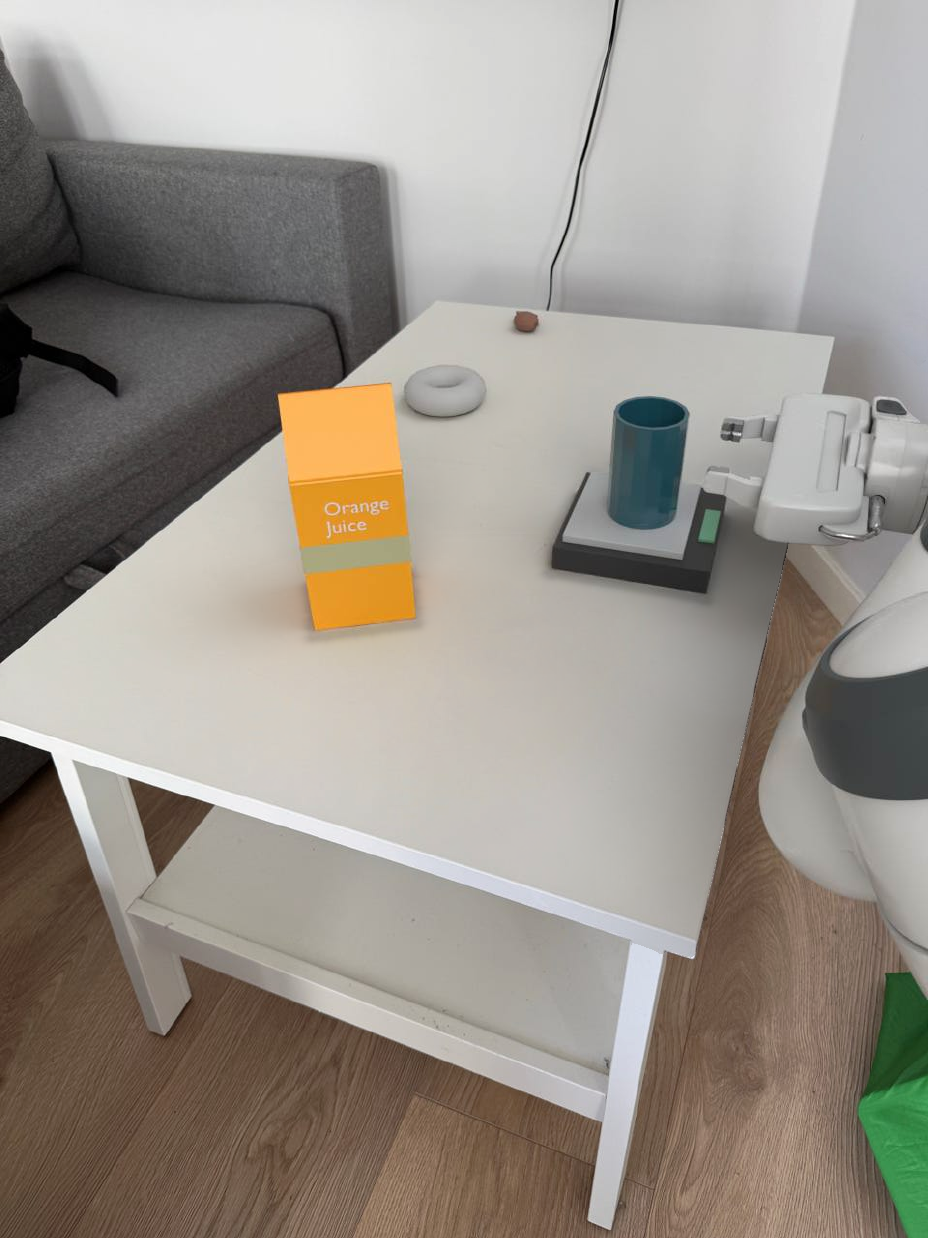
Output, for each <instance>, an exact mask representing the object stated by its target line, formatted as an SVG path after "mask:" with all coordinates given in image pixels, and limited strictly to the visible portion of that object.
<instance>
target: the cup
mask: <svg viewBox="0 0 928 1238" xmlns="http://www.w3.org/2000/svg"><path fill="white" fill-rule="evenodd" d="M690 418H691V413H690V411H689V409H688V407H687V406H686V405H684V404H682V403H681V402H679V401H677V400H674V399H671V398H668V397H664V396H655V395H646V396H645V395H644V396H634V397H631V398H630V397H629V398H626V399H624V400H622V401H621V402H619V403H618V404H616V405H615V407H614V410H613V412H612V425H611V426H612V427H611V438H610V439H611V441H610V453H609V454H610V455H609V468H608V473H609V480H608V493H607V513H608V515H609V516H610V518H611V519H612V520H613V521H615V522H616V523H618V524H620V525H622V526H625V527H628V528H633V529H640V530H650V529H657V528H661V527H664V526H666V525H668V524H670V523H671V522H672V521H673V520H674V519H675V517H676V514H677V508H678V503H679V495H680V487H681V483H682V479H683V473H684V472H683V471H684V463H685V456H686V447H687V439H688V434H689V433H688V432H689V424H690Z"/></svg>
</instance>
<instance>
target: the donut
mask: <svg viewBox="0 0 928 1238" xmlns="http://www.w3.org/2000/svg"><path fill="white" fill-rule="evenodd" d="M403 395H404V399H405V400H404V401H406V403H407V404H408V405H409V406H410V407H411V409H413V410H414V411H415V412H418V413H419V414H421V415H426V416H430V417H441V418H444V417H445V418H446V417H455V416H460V415H464V414H466V413H470V412H471V411H474V410H475V409H476V408H478V407H479V406H481V404H482V403H483V401H484V399H485V398H486V397H485V396H486V395H487V386H486V382H485V379H484V378H483V377H482V376H481V375H480V374H479V373H478V372H477V371H476V370H474V369H471V368H469V367H465V366H461V365H455V364H440V365H434V366H428V367H425V368H423V369H420V370H417V371H416V372H414V373H413V374H411V376H409V378H408V379H407V381H406V382H405V384H404V388H403Z"/></svg>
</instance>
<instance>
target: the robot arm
mask: <svg viewBox="0 0 928 1238" xmlns="http://www.w3.org/2000/svg"><path fill="white" fill-rule="evenodd" d="M719 437H720V439H721V440H723V441H724V442H725V441H726V442H728V441H730V442H732V443H739V444H740V443H741V440H747V439H760V441H761V442H764V443H765V442H766V443H772V445H771V449H770V454H769V458H768V462H767V466H766V469H765V474H764V477H759V476H753V475H752V476H751V475H750V476H749V478H745V477H742V476H740V475H737V474H734V473H732V472H730V467H726V466H717V465H709V466H708V467H707V469H706V472H705V474H704V479H703V484H702V487H703V489H704V491H705V492H707V493H714V494H720V495H724V496H725V497H727V499H729V500H731V501H733V502H734V503H736V504H738V505H739V506H742V507H743V508H748V509H756V514H755V519H754V525H753V531H754V533H755V534H756V535H758V536H759V537H761V538H763V539H765V540H766V541H770V542H776V543H785V544H795V545H805V546H806V545H807V546H819V547H820V546H821V547H835V546H844V545H846V544H848V543H864V542H865V541H866V540H869V539H873V538H874V537H877V536H879V535H880V534H881V533H882V531H887V532H892V533H899V534H900V533H901V534H906V535H911V536H910V538H909V539H908V540H907V542H906V543H905V544H904V546H903V547H902V548H901V549H900V551H899V552H898V554H897V555H896V557H895V558H894V559H893V561H892V562H891V564H890V565H889V567H888V568H886V570H885V572H884V573H883V575H881V577H880V579H878V581H877V583H876V584H875V585H874V586H873V588H872V589H871V590H870V592H869V593H868V594H867V595H866V596H865V598H864V599H863V600H862V601H861V603H860V604H859V605H858V606H857V607H856V609H855V610H854V611H853V612H852V613H851V614H850V616H849V617H848V619H847V620H846V621H845V623H844V624H843V625H842V627H840V629H839V630H838V632H837V633H836V634H835V636H834V637H833V638H832V639H831V640H830V642H829V643H828V644H827V645H826V647H825V648H824V649H823V650H822V652H821V653H820V654H819V656H818V657H817V659H815V661H814V662H813V664H812V665H811V666H810V668H809V669H808V671H807V672H806V674H805V675H804V677H803V678H802V679H801V681H800V683H799V684H798V686H797V688H796V689H795V691H794V693H793V694H792V697H791V698H790V700H789V702H788V703H787V705H786V707H785V709H784V711H783V714H782V715H781V717H780V720H779V722H778V723H777V726H776V729H775V731H774V734H773V737H772V738H771V742H770V744H769V747H768V749H767V753H766V756H765V759H764V761H763V765H762V770H761V772H760V776H759V777H760V778H759V783H758V805H759V811H760V817H761V819H762V821H763V825H764V827H765V830H766V832H767V834H768V836H769V838H770V840H771V842H772V844H773V845H774V847H775V849H777V851H778V852H779V853H780V854H781V856H782V857H783V859H785V860H786V861H787V863H789V864H790V865H791V866H792V867H793V868H794V870H796V871H797V872H798V873H799V874H800V875H802V876H803V877H804V878H806V879H807V880H809V881H810V882H811V883H814V884H815V885H816V886H819V887H821V888H823V889H824V890H826V891H829V892H830V893H833V894H835V895H838V896H841V897H844V898H847V899H852V900H855V901H860V902H867V903H876V905H877V909H878V913H879V916H880V917H881V920H882V922H883V924H884V925H885V928H886V929H887V931H888V933H889V935H890V937H891V939H892V941H893V943H894V945H895V946H896V948H897V950H898V953H899V954H900V956H901V958H902V960H903V961H904V963H905V965H906V967H907V968H908V970H909V972H910V973H911V975H912V977H913V979H914V980H915V982H916V984H917V985H918V987H919V989H920V991H921V992H922V994H923V995H924V997H925V998H926V1001H928V424H927V423H926V424H925V423H921V420H920V419H918V418H917V417H915V416H914V415H912V414H911V412H910V411H909V410H908V409H907V408H906V407H905V405H904V404H903V402H902V401H901V400H900V399H898V398H896V397H893V396H883V395H878V396H875V397H874V398H873V399H872V403H871V404H870V402H869V401H867V400H865V399H863V398H859V397H855V396H848V395H840V394H830V393H829V394H827V393H814V392H799V393H794V394H789V395H786V396H784V397H783V400H782V403H781V407H780V411H779V414H775V413H767V412H766V413H760V414H755V415H748V416H745V417H743V416H742V417H741V416H735V415H726V416H724V418H723V421H722V424H721V429H720V436H719Z"/></svg>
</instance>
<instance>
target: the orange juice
mask: <svg viewBox="0 0 928 1238" xmlns="http://www.w3.org/2000/svg"><path fill="white" fill-rule="evenodd" d="M277 397H278V405H279V413H280V420H281V428H282V435H283V436H282V437H283V444H284V451H285V458H286V467H287V473H288V474H287V476H288V477H287V478H288V480H287V481H288V487H289V493H290V499H291V505H292V510H293V515H294V516H293V517H294V521H295V526H296V527H295V528H296V532H297V538H298V542H299V552H300V557H301V563H302V564H301V565H302V569H303V574H304V577H305V582H306V588H307V594H308V599H309V604H310V605H309V606H310V611H311V616H312V621H313V627H314V631H321V630H322V631H323V630H332V629H341V628H347V627H355V626H363V625H364V626H365V625H370V624H379V623H387V622H395V621H404V620H411V619H416V605H415V596H414V595H415V594H414V585H413V583H414V582H413V573H412V555H411V544H410V534H409V529H408V516H407V505H406V494H405V483H404V473H403V466H402V460H401V452H400V451H401V450H400V442H399V435H398V426H397V419H396V410H395V402H394V401H395V400H394V393H393V387H392V382H383V383H372V384H364V385H363V384H362V385H352V386H342V387H331V388H322V389H312V390H302V391H291V392H282V393H277Z"/></svg>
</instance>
